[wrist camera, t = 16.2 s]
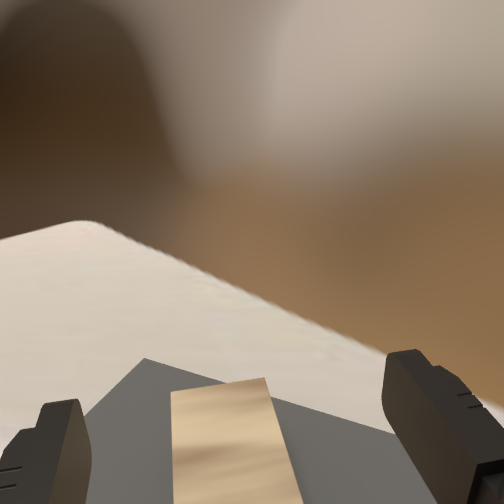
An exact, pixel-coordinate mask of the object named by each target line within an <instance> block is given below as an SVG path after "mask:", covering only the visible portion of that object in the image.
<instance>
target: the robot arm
mask: <svg viewBox="0 0 504 504" xmlns="http://www.w3.org/2000/svg"><path fill="white" fill-rule="evenodd" d="M382 406H383V410H384V413H385V416H386V418H387V420H388V422H389V424H390V425H391V427H392V429H393V430H394V432H395V434H396V435H397V437H398V439H399V440H400V442H401V444H402V445H403V447H404V449H405V450H406V452H407V454H408V455H409V457H410V459H411V460H412V462H413V464H414V465H415V467H416V469H417V470H418V472H419V474H420V475H421V477H422V479H423V480H424V482H425V484H426V485H427V487H428V489H429V490H430V492H431V494H432V495H433V497H434V499H435V500H436V502H437V504H504V428H503V427H502V426H501V425H500V424H499V422H498V421H497V420H496V419H495V418H494V417H493V416H492V415H491V413H490V412H489V411H488V410H487V409H486V408H483V404H482V403H481V402H480V401H479V400H478V399H477V398H476V397H475V395H472V392H471V391H470V390H469V389H468V388H467V387H466V385H465V384H464V383H463V382H462V381H461V380H460V379H459V378H458V377H457V376H456V375H454V374H452V373H451V372H449V371H448V370H446V369H445V368H443V367H441V366H440V365H439V366H432V365H431V364H430V362H429V361H428V360H427V359H426V358H425V356H424V355H423V354H422V353H421V352H420V351H419V350H417V349H413V350H406V351H399V352H393V353H389V354H388V355H387V358H386V365H385V373H384V381H383V389H382ZM91 466H92V451H91V443H90V439H89V435H88V432H87V428H86V424H85V420H84V416H83V412H82V409H81V405H80V402H79V400H78V399H70V400H63V401H57V402H50V403H45V404H44V405H43V406H42V408H41V411H40V414H39V417H38V420H37V423H36V427H35V428H29V429H22V430H20V431H19V432H18V434H17V435H16V436H15V437H14V438H13V439H12V441H11V442H10V443H9V444H8V445H7V447H6V448H5V449H4V451H3V454H2V456H1V459H0V504H86V498H87V492H88V486H89V480H90V474H91Z"/></svg>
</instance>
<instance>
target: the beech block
mask: <svg viewBox="0 0 504 504" xmlns="http://www.w3.org/2000/svg"><path fill="white" fill-rule="evenodd" d="M171 426H172V462H173V499H174V504H303V501H302V497H301V494H300V491H299V488H298V484H297V481H296V478H295V475H294V472H293V468H292V465H291V462H290V459H289V455H288V452H287V449H286V446H285V442H284V439H283V436H282V433H281V430H280V426H279V423H278V420H277V417H276V413H275V410H274V407H273V404H272V400H271V397H270V394H269V391H268V388H267V384H266V381H265V378H258V379H252V380H245V381H239V382H232V383H225V384H219V385H212V386H206V387H199V388H193V389H186V390H180V391H173V392H171Z"/></svg>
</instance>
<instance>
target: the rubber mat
mask: <svg viewBox="0 0 504 504" xmlns="http://www.w3.org/2000/svg"><path fill="white" fill-rule="evenodd" d="M219 384H225V383H224V382H221V381H218V380H214V379H211V378H208V377H204V376H201V375H198V374H195V373H191V372H188V371H185V370H181V369H178V368H175V367H172V366H168V365H165V364H162V363H158V362H155V361H152V360H149V359H145V358H144V359H143V360H142V361H141V362H140V363H139V364H138V365H137V366H135V367H134V368H133V369H132V370H131V371H130V372H129V373H128V374H127V375H126V376H125V377H124V378H123V379H122V380H121V381H120V382H119V383H118V384H117V385H116V386H115V387H114V388H113V389H112V390H111V391H110V392H109V393H108V394H107V395H106V396H105V397H104V398H103V399H101V400H100V401H99V402H98V403H97V404H96V405H95V406H94V407H93V408H92V409H91V410H90V411H89V412H88V413H87V414H86V415H85V416H84V420H85V424H86V428H87V432H88V435H89V439H90V443H91V451H92V466H91V474H90V480H89V486H88V492H87V498H86V504H174V499H173V462H172V426H171V392H173V391H180V390H186V389H193V388H199V387H206V386H212V385H219ZM271 400H272V404H273V407H274V410H275V413H276V417H277V420H278V423H279V426H280V430H281V433H282V436H283V439H284V442H285V446H286V449H287V452H288V455H289V459H290V462H291V465H292V468H293V472H294V475H295V478H296V481H297V484H298V488H299V491H300V494H301V497H302V501H303V504H437V502H436V500H435V499H434V497H433V495H432V494H431V492H430V490H429V489H428V487H427V485H426V484H425V482H424V480H423V479H422V477H421V475H420V474H419V472H418V470H417V469H416V467H415V465H414V464H413V462H412V460H411V459H410V457H409V455H408V454H407V452H406V450H405V449H404V447H403V445H402V444H401V442H400V440H399V439H398V437H397V435H395V434H392V433H388V432H385V431H382V430H379V429H375V428H372V427H369V426H365V425H362V424H359V423H356V422H352V421H349V420H346V419H342V418H339V417H336V416H333V415H329V414H326V413H323V412H319V411H316V410H313V409H310V408H306V407H303V406H300V405H296V404H293V403H290V402H287V401H283V400H280V399H277V398H273V397H271Z"/></svg>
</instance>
